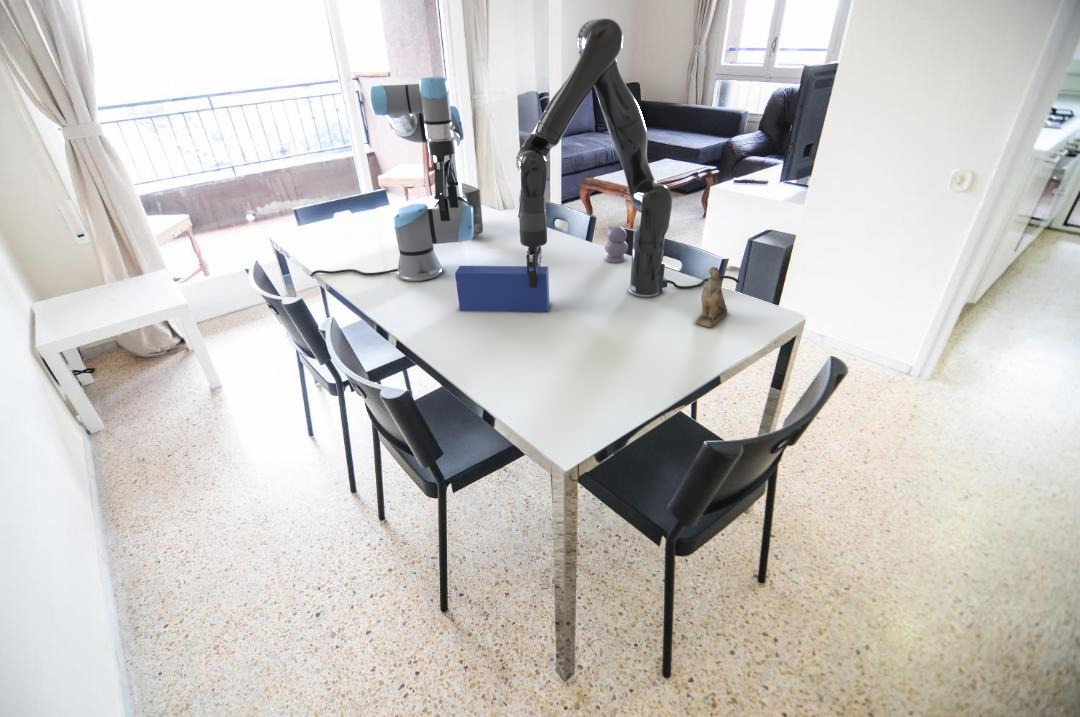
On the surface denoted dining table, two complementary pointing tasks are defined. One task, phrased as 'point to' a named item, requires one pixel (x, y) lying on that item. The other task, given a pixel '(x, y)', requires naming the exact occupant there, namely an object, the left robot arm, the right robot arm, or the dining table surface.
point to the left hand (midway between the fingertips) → (450, 213)
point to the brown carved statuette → (712, 301)
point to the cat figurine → (616, 244)
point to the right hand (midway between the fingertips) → (535, 281)
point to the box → (501, 289)
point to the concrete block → (474, 206)
